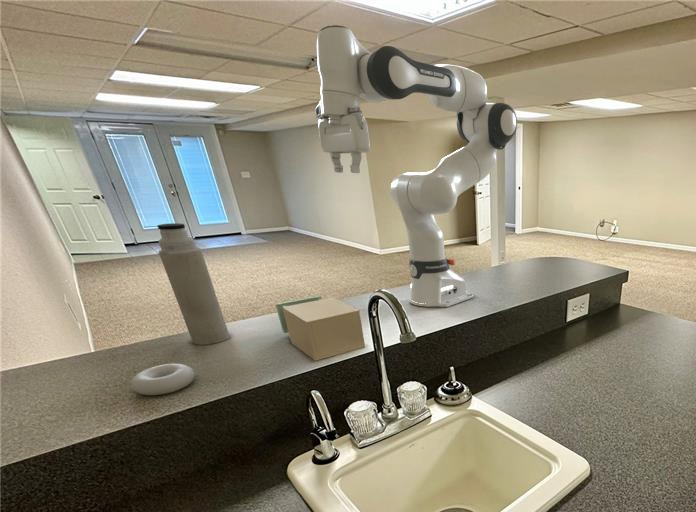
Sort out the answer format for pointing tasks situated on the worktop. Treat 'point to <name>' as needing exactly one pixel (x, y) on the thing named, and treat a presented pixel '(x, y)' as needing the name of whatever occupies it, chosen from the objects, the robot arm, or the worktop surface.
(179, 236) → the thermos bottle
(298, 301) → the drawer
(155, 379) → the donut
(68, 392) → the worktop surface
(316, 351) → the tan cardboard box
